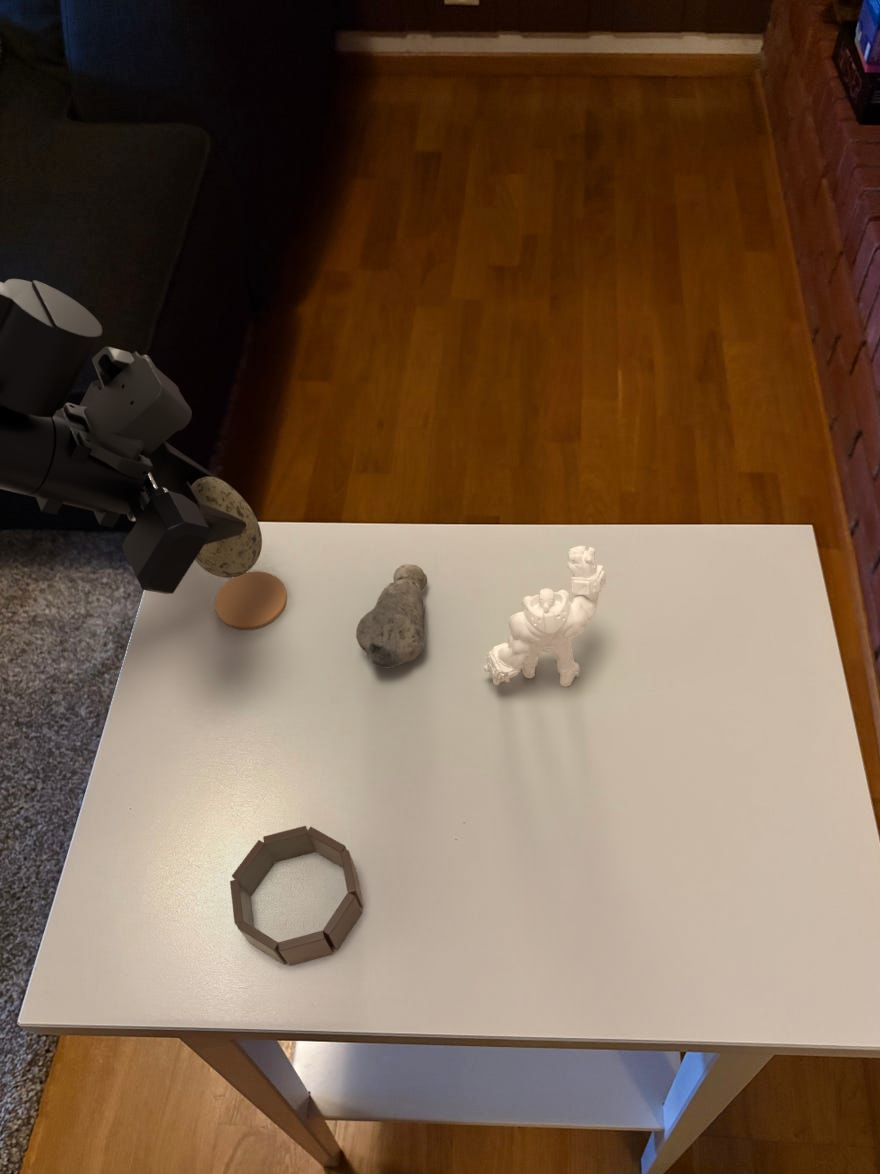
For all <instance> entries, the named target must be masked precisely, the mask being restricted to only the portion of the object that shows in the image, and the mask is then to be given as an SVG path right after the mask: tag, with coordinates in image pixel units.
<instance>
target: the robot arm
mask: <svg viewBox="0 0 880 1174" xmlns="http://www.w3.org/2000/svg"><path fill="white" fill-rule="evenodd" d="M102 334H103V327H102V325H101V323H100V322H99V320H98V319H97V318H96V317H95V316H94V315H93V314H92V313H91V312H90V311H89V310H88V309H87V308H86V307H84V306H83V305H81V304H80V303H79V302H78V301H76V300H75V299H73V298H71V297H70V296H69V295H67V294H65V293H64V292H62V291H60V290H58V289H57V288H54V287H52V286H50V285H48V284H46V283H43V282H42V281H38V280H36V279H33V280H32V281H29V280H25V279H20V278H19V279H18V278H10V279H7V280H5V281H4V282H2V281H0V490H4V491H8V492H12V493H15V494H21V495H24V496H29V497H34V498H35V500H36V501H37V504H38V506H39V509H40V512H42V513H45V514H46V513H47V514H51V515H57V514H58V513H59V511H60V509H61V507H62V505H67V506H72V507H75V508H80V509H84V510H88V511H92V512H93V514H94V516H95V517H96V520H97V523H98V524H99V526H104V527H109V528H114V526H115V525H116V523H117V521H118V520H119V518H120V516H121V514H123V515H126V516H127V518H128V520H129V521H131V522H135V523H134V525H133V527H132V528H131V531H130V532H129V533H128V536H127V537H126V539H125V540H124V542H123V544H122V546H121V547H122V549H123V551H124V554H125V556H126V558H127V560H128V562H129V565H130V567H131V569H132V571H133V572H134V576H135V578H136V580H137V581H138V583H139V586H140V587H141V589H142V590H143V591H147V592H153V593H158V594H163V595H171V594H172V595H173V594H174V593H175V591H176V590H177V588H178V587H179V585H180V583H181V582H182V580H183V579H184V577H185V575H186V574H187V572H188V571H189V569H190V568H191V566H192V565H193V563H194V561H195V558H196V557H197V555H198V554H199V552H200V551H201V549H202V548H203V546H204V545H206V544H209V543H213V542H217V541H220V540H224V539H227V538H231V537H234V536H238V535H240V534H242V533H243V531H244V530H245V528H246V526H247V524H246V523H245V521H243V520H241V519H239V518H237V517H235V516H233V515H230V514H228V513H225V512H223V511H220V510H218V509H215V508H213V507H210V506H208V505H205V504H203V503H200V502H199V500H198V499H197V497H196V495H195V493H194V491H193V490H192V488H191V485H192V484H193V483H194V482H195V481H196V480H198V479H200V478H203V477H214V478H218V479H220V480H221V478H220V477H218V476H217V475H215V474H214V473H212V472H211V471H209V470H208V469H206V468H204V467H203V466H201V465H200V464H198V463H197V462H196V461H194V460H193V459H191V458H190V457H188V456H187V455H185V454H184V453H182V452H181V451H180V450H178V449H176V448H175V447H174V446H172V445H171V444H170V443H168V442H167V440H168V439H169V438H170V437H171V436H172V435H174V434H175V433H176V432H180V431H182V430H183V429H184V428H185V427H187V426H188V424H189V423H190V421H191V419H192V415H193V412H192V409H191V407H190V405H189V404H188V403H187V402H186V400H185V398H184V397H183V395H182V393H181V392H180V388H179V387H178V385H177V384H176V383H175V382H173V381H172V380H171V378H169V377H168V376H166V375H165V374H164V373H163V372H162V371H161V370H160V369H159V368H158V367H156V365H155V364H154V361H152V359H151V357H150V356H149V355H147V354H142V355H141V354H140V353H139V352H137V350H135V351H134V352H133V353H132V352H129V351H126V350H122V349H120V348H119V349H118V348H115V347H112V346H104V347H103V348H102V349H101V350H100V351H99V352H98V353H96V354H95V355H94V356H92V359H91V362H92V363H93V366H94V368H95V371H96V374H97V376H98V378H99V379H96V380H94V381H91V383H90V385H89V386H88V389H87V390H86V392H85V394H84V396H83V397H82V399H81V401H80V404H79V405H77V404H74V403H72V402H67V401H68V399H69V397H70V396H71V394H72V392H73V390H74V388H75V386H76V384H77V382H78V380H79V378H80V376H81V374H82V372H83V370H84V368H85V367H86V365H87V363H88V361H89V359H90V357H91V355H92V353H93V351H94V350H95V347H96V346H97V343H98V342H99V341H100V338H101V336H102Z"/></svg>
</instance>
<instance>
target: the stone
mask: <svg viewBox="0 0 880 1174" xmlns="http://www.w3.org/2000/svg"><path fill="white" fill-rule="evenodd" d="M392 578H393V581H392V582H391V583H389V584H388V585H387V586H386V587H384V588H383V590H382V591H381V593H380V595H379V596H378V598H377V600H376V602H375V603H376V604H375V606H374V608H372V609H371V610H370V611H368V612H367V613H366V614H365V615H364V616H363V617H361V619H360V620H359V622H358V624H357V627H356V631H355V632H356V633H355V634H356V635H355V638H356V640H357V643H358V645H359V647H360V648H361V649H362V650H363V651H364V652H365V653H366V655H367V656H368V657H369V659H370V661H371V662H372V664H374V665H375V666H376V667H380V668H384V669H386V668H394V667H397V666H399V665H402V664H406V663H410V662H412V661H414V660H416V658H417V657H419V655H420V654H421V653H422V650H423V646H424V637H425V634H424V628H423V627H424V626H423V621H424V615H425V614H424V613H425V612H424V611H425V610H424V605H425V604H424V596H423V593H422V592H423V591H424V590H425V589H426V587H427V585H428V577H427V574H426V573H425V572H424V570H423V569H422V568H421V567H420V566H418V564H413V563H406V564H405V563H404V564H401V565H400V566H399V567H397V568H396V569H395V571H394V572H393V576H392Z"/></svg>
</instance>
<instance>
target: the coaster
mask: <svg viewBox="0 0 880 1174" xmlns="http://www.w3.org/2000/svg"><path fill="white" fill-rule="evenodd" d="M287 601H288V593H287V588H286V586H285V584H284V583H283V582H282V580H281V579H280V578H278V577H277V576H276V575H274V574H272V573H269V572H266V571H259V570H258V571H257V570H256V571H253V570H252V571H247V572H246V573H245V574H242V575H240V576H237V577H232V578H229V579H228V580H227V581H225V583H224V584H223V585H222V586H221V588H220V589H219V590H218V591H217V595H216V597H215V601H214V607H215V612H216V614H217V616H218V617H219V620H220V621H221V622H222V623H224V624H225V625H226V626H228V627H230V628H232V629H236V630H242V631H243V630H245V631H250V630H256V629H260V628H262V627H265V626H267V625H269V624H270V623H272V622H274V621H275V620H276V619H277V618H278V617H279V616H281V614H282V613H283V612H284V609H285V608H286V605H287Z"/></svg>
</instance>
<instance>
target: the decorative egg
mask: <svg viewBox="0 0 880 1174" xmlns="http://www.w3.org/2000/svg"><path fill="white" fill-rule="evenodd" d="M218 478H219V477H218ZM218 478H214V477H203V478H200V479H198V480H196V481H195V482H194V483H193V484H192V485H191V488H192V490H193V491H194V493H195V495H196V497H197V499H198V500H199V502H200V503H203V504H205V505H208V506H210V507H213V508H215V509H218V510H220V511H223V512H225V513H228V514H230V515H233V516H235V517H237V518H239V519H241V520H243V521H245V523H246V524H247V526H246V528H245V530H244V531H243V533H242V534H240V535H238V536H234V537H231V538H227V539H224V540H220V541H217V542H213V543H209V544H206V545H204V546H203V548H202V549H201V551H200V552H199V554H198V555H197V557H196V558H195V560H194V561H195V562H196V563H197V565H198V566H199V567H200V568H201V569H202V570H203V571H205V572H207V573H208V574H211V575H213V576H216V577H219V578H226V579H232V578H233V577H237V576H240V575H242V574H245V573H246V572H250V570H251V569H252V568H253V567H254V566H255V565H256V563H257V562H258V560H259V558H260V556H261V553H262V548H263V547H262V546H263V535H262V531H261V527H260V524H259V522H258V519H257V517H256V514H255V513H254V512H253V510H252V508H251V507H250V505H249V504H248V503H247V502H246V500H245V499H244V498H243V497H242V495H241V494H240V493H239V492H238V491H237V490H235V488H234V487H232V486H231V485H230V484H229V483H227V482H226V481H224V480H223V479H221V478H220V479H218Z"/></svg>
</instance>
